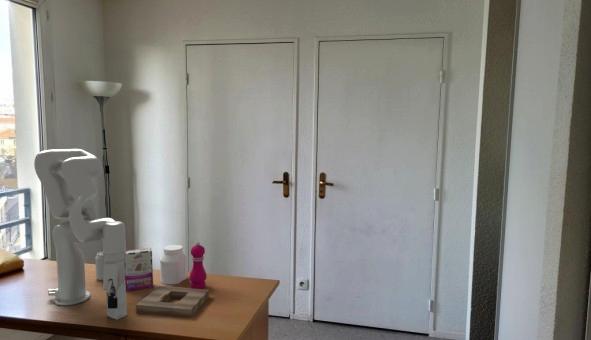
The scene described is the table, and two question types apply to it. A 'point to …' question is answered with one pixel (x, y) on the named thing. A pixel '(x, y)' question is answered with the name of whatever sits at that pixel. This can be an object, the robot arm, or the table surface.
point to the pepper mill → (198, 267)
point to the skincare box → (121, 299)
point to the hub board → (184, 307)
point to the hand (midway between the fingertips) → (116, 303)
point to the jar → (173, 265)
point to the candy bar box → (138, 269)
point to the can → (99, 266)
